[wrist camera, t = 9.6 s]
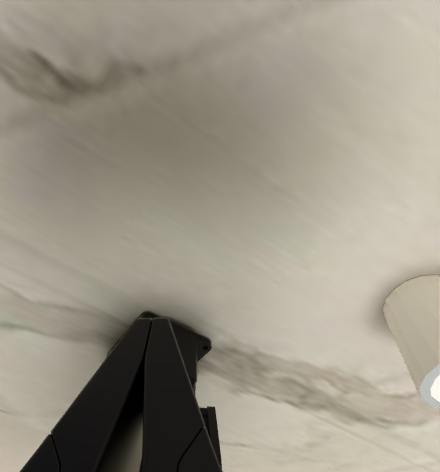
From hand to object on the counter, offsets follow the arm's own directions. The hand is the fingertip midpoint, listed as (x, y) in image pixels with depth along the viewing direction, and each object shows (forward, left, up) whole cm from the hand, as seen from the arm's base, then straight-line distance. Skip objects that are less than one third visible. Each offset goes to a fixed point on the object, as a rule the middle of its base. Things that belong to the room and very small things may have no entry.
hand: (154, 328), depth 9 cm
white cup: (+1, -22, -13) cm, 26 cm away
